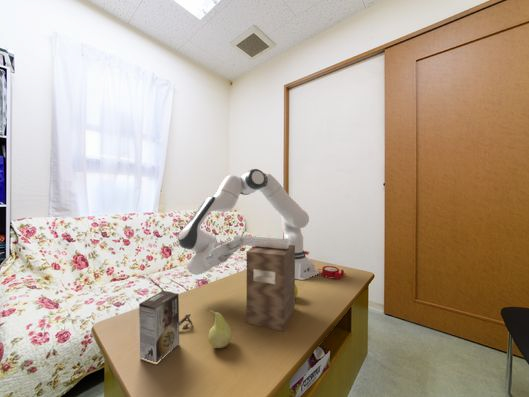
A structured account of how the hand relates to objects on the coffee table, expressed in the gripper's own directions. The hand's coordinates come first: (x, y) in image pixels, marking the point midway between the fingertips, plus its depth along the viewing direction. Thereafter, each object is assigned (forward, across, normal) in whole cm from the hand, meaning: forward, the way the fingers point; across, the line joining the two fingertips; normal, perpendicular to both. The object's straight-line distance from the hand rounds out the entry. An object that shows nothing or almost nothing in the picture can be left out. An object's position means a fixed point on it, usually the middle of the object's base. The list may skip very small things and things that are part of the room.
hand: (243, 239), depth 88 cm
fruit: (-12, -22, +26) cm, 36 cm away
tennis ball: (-1, +16, +32) cm, 36 cm away
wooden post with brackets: (-27, -20, +18) cm, 38 cm away
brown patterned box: (-4, 0, +31) cm, 31 cm away
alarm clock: (+13, +52, +41) cm, 67 cm away
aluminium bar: (+5, 0, +5) cm, 8 cm away
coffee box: (-25, -31, +19) cm, 44 cm away
